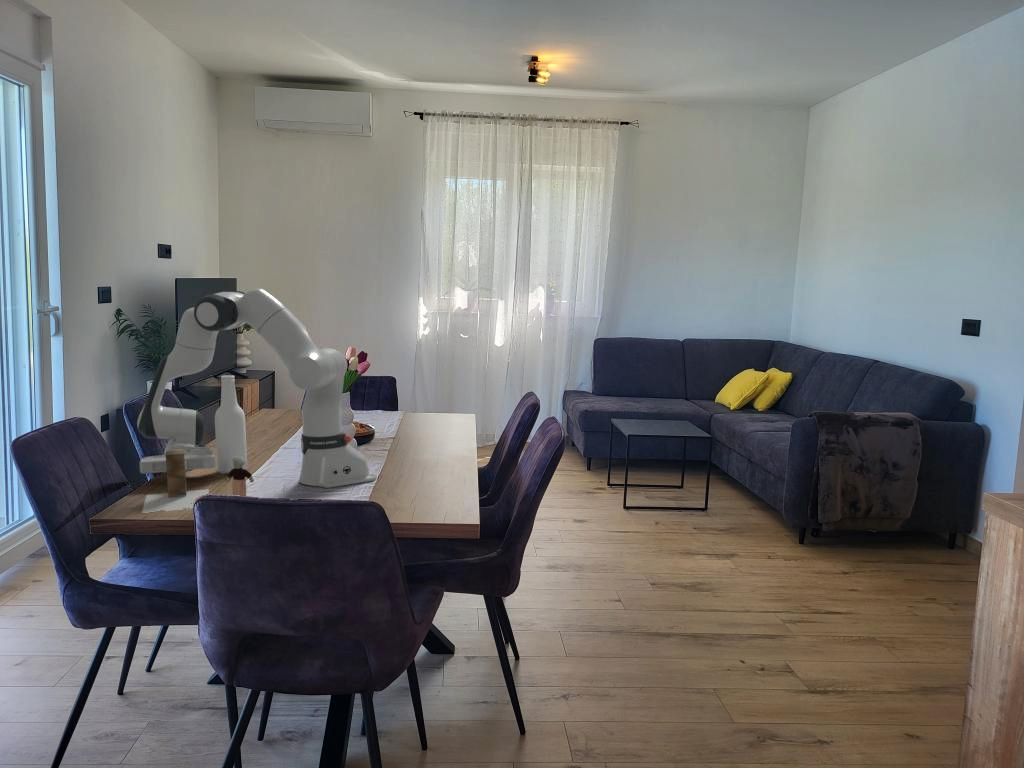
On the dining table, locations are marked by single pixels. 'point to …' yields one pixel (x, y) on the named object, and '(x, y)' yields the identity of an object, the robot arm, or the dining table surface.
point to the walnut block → (176, 473)
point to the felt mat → (171, 501)
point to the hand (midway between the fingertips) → (177, 468)
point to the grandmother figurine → (239, 476)
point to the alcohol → (229, 428)
